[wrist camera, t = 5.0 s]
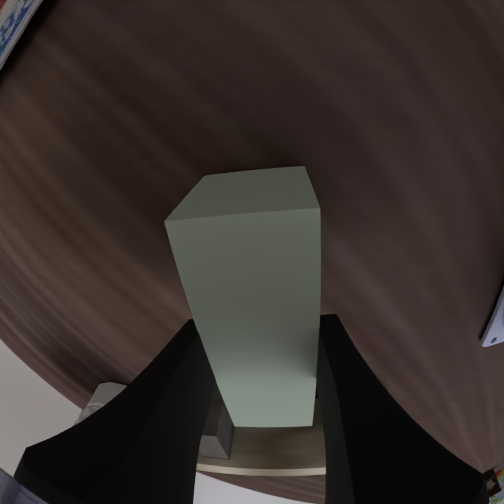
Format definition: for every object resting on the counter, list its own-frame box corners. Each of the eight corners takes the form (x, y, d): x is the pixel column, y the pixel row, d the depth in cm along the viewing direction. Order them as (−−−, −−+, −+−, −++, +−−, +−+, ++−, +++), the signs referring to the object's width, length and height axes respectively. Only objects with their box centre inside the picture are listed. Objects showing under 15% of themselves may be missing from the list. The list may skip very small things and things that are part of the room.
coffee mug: (500, 464, 38) (506, 487, 30) (486, 474, 42) (490, 496, 34) (476, 476, 39) (481, 501, 31) (461, 485, 43) (465, 509, 35)
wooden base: (399, 356, 14) (421, 430, 10) (382, 401, 16) (393, 463, 12) (161, 364, 16) (135, 432, 11) (184, 406, 18) (168, 464, 14)
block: (304, 166, 9) (320, 207, 6) (308, 360, 14) (312, 425, 11) (204, 175, 10) (164, 221, 6) (243, 362, 15) (234, 426, 11)
